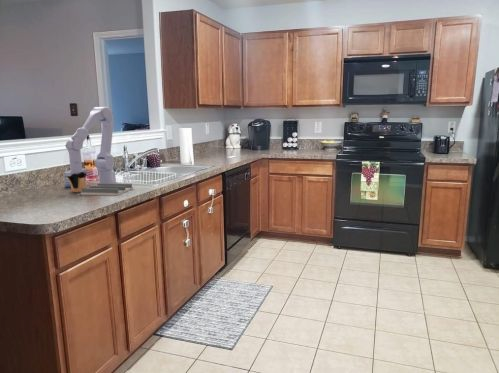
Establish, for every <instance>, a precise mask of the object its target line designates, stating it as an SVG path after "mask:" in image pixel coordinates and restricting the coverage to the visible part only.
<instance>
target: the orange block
mask: <svg viewBox="0 0 499 373" xmlns="http://www.w3.org/2000/svg"><path fill="white" fill-rule="evenodd" d="M70 184H71V187H70V192H71V193H81V192H82V189H81V188H87V185H86V177H85V178H78V188H77V189H76V188H73V185H72V183H71V181H70Z"/></svg>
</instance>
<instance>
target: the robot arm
mask: <svg viewBox="0 0 499 373" xmlns="http://www.w3.org/2000/svg"><path fill="white" fill-rule="evenodd" d="M89 112H90V113H89V115H88V117H87V119H86V120H85V121H84V124H83V125H82V127H78V128H77V129H75V133H74V134H73V135H71V138H70V139H68V140H67V141H66V143H65V145H64V146H65V149H66V150H67V151H68V152H67V153H68V159H69V167H70V168H69V169H70V170H68V171H65V172H66V176H68V178H69V180H70V181H71V183H72V185H73V188H76V189H77V188H78V178H85V179H86V176H87V172H88V171H87V169H88V168H83V163H82V162H83V161H82V153H81V149H83V146H84V145H83V144H84V142H85V140H86V139H87V137H88V136H89V135H90V134H89V131H90V130H91V128H92V127H93V126H94V125H95V123H97V121H98V122H100V123H101V125H102V129H101V141H100V142H101V143H100V150H99V153H98V154H97V155H96V159H95V161H94V167H95V168H96V169H97V171H98V180H99V182H98V183H112V184H119V183H118V182H117V178H116V172H115V170H113V169H114V168H115V161H114V155H112V154H111V152H112V143H113V142H112V140H113V130H114V120H113V113H114V112H113V111H112V109H111V108H110V107H108V106H94V107H93V108H92V109H91V110H90V111H89Z"/></svg>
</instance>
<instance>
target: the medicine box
mask: <svg viewBox="0 0 499 373" xmlns="http://www.w3.org/2000/svg"><path fill="white" fill-rule="evenodd" d="M66 172H67V171H64V172H63V174H62V175H63V182H64V188H65V187H68V188H71V184H70V180H69V178H68V176H66Z"/></svg>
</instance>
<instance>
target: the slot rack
mask: <svg viewBox="0 0 499 373" xmlns="http://www.w3.org/2000/svg"><path fill="white" fill-rule="evenodd" d="M81 189H82V192H80V195H83V196H87V195H89V196H120V195H122V194H124V193H126V192H129V191H132V190H134V187H133V184H132V183H118V184H112V183H99V182H98V183H97V184H96V185H89V187H86V188H81Z"/></svg>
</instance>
